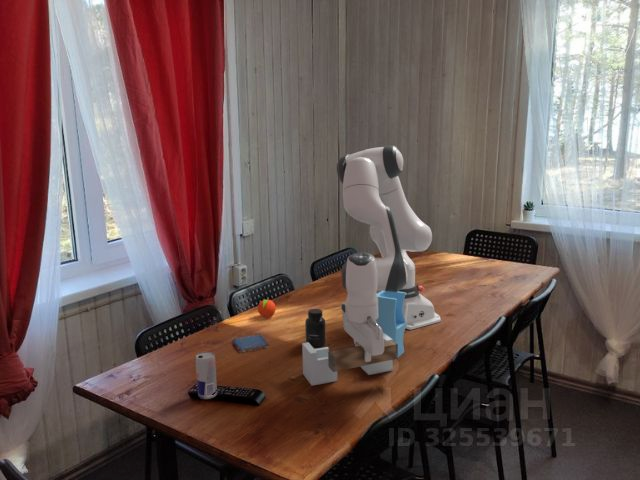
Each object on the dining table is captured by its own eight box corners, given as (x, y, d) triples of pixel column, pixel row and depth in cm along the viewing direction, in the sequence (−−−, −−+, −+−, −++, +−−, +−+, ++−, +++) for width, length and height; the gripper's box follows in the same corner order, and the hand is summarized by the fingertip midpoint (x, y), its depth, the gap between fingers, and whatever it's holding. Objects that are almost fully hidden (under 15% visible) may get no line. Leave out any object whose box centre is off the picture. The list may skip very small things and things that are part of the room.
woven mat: (231, 343, 197) (231, 338, 196) (260, 338, 201) (260, 333, 200) (239, 355, 187) (238, 349, 187) (269, 349, 191) (269, 343, 191)
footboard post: (328, 369, 174) (327, 339, 172) (337, 380, 167) (336, 349, 164) (303, 374, 171) (302, 343, 169) (311, 385, 164) (310, 353, 162)
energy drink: (199, 391, 163) (196, 352, 160) (218, 389, 163) (215, 351, 160) (197, 400, 157) (193, 360, 155) (216, 399, 158) (213, 359, 155)
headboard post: (381, 359, 180) (381, 330, 178) (392, 370, 172) (392, 339, 170) (357, 364, 177) (357, 334, 175) (368, 374, 170) (368, 343, 168)
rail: (392, 353, 166) (392, 339, 165) (397, 358, 163) (397, 344, 162) (328, 366, 160) (328, 351, 159) (333, 371, 157) (332, 356, 155)
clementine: (272, 321, 215) (271, 303, 214) (255, 320, 217) (254, 303, 215) (278, 314, 223) (277, 297, 222) (261, 313, 224) (260, 296, 223)
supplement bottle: (311, 349, 189) (310, 315, 186) (302, 342, 195) (301, 309, 192) (329, 345, 192) (328, 312, 189) (320, 338, 198) (319, 306, 195)
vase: (395, 359, 180) (396, 299, 175) (373, 354, 184) (373, 295, 180) (405, 350, 186) (406, 292, 182) (384, 346, 190) (384, 289, 186)
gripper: (389, 322, 149) (390, 370, 153) (358, 298, 168) (359, 342, 171) (367, 326, 147) (368, 375, 150) (338, 301, 166) (339, 345, 169)
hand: (363, 357), depth 161 cm, fingers closed on rail, 3 cm apart
